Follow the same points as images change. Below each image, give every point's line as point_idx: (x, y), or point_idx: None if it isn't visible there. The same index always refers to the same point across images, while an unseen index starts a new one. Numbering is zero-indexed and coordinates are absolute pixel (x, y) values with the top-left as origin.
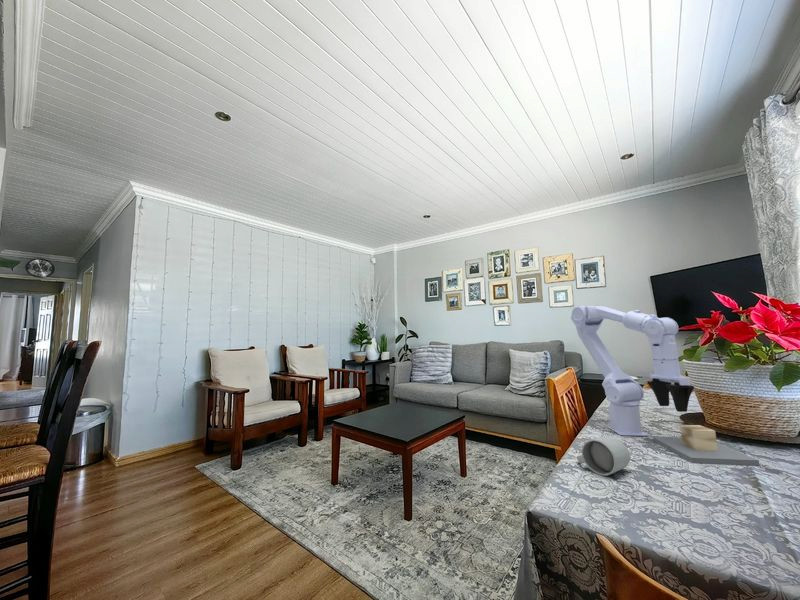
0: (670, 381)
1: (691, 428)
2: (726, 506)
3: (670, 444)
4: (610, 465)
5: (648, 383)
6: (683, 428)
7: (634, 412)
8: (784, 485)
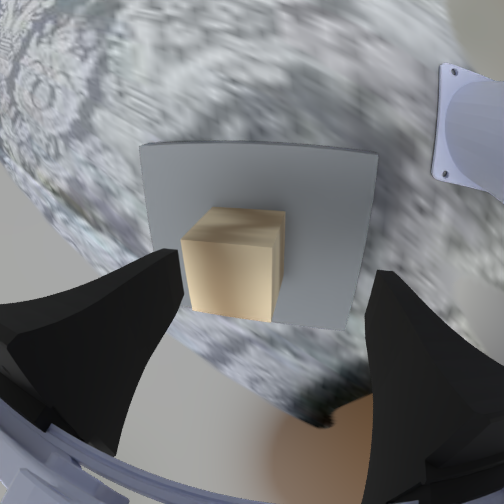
0: (135, 481)
1: (210, 253)
2: (7, 105)
3: (272, 159)
4: None
5: None
6: (249, 239)
7: (496, 153)
8: (83, 249)
